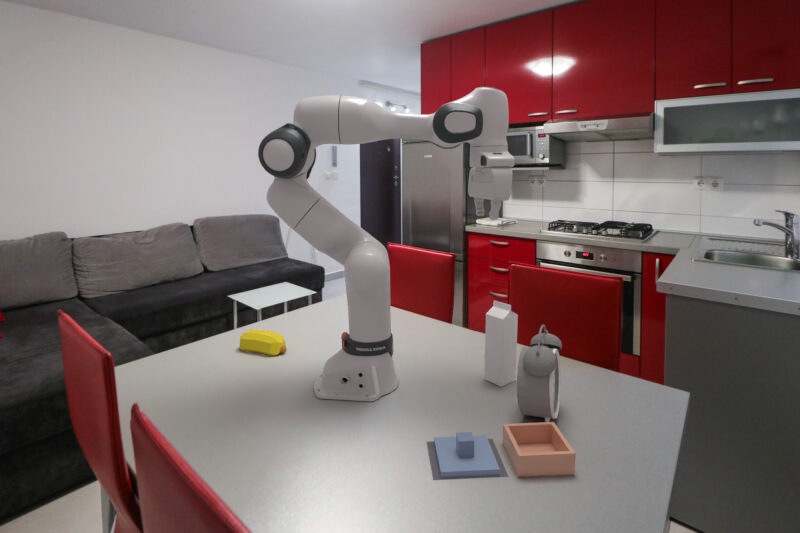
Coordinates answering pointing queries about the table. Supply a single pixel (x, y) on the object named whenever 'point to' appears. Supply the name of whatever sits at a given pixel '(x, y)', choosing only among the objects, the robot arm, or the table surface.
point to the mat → (437, 476)
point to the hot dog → (262, 342)
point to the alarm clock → (540, 377)
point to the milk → (500, 344)
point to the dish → (538, 449)
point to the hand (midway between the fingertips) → (486, 217)
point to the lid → (465, 456)
